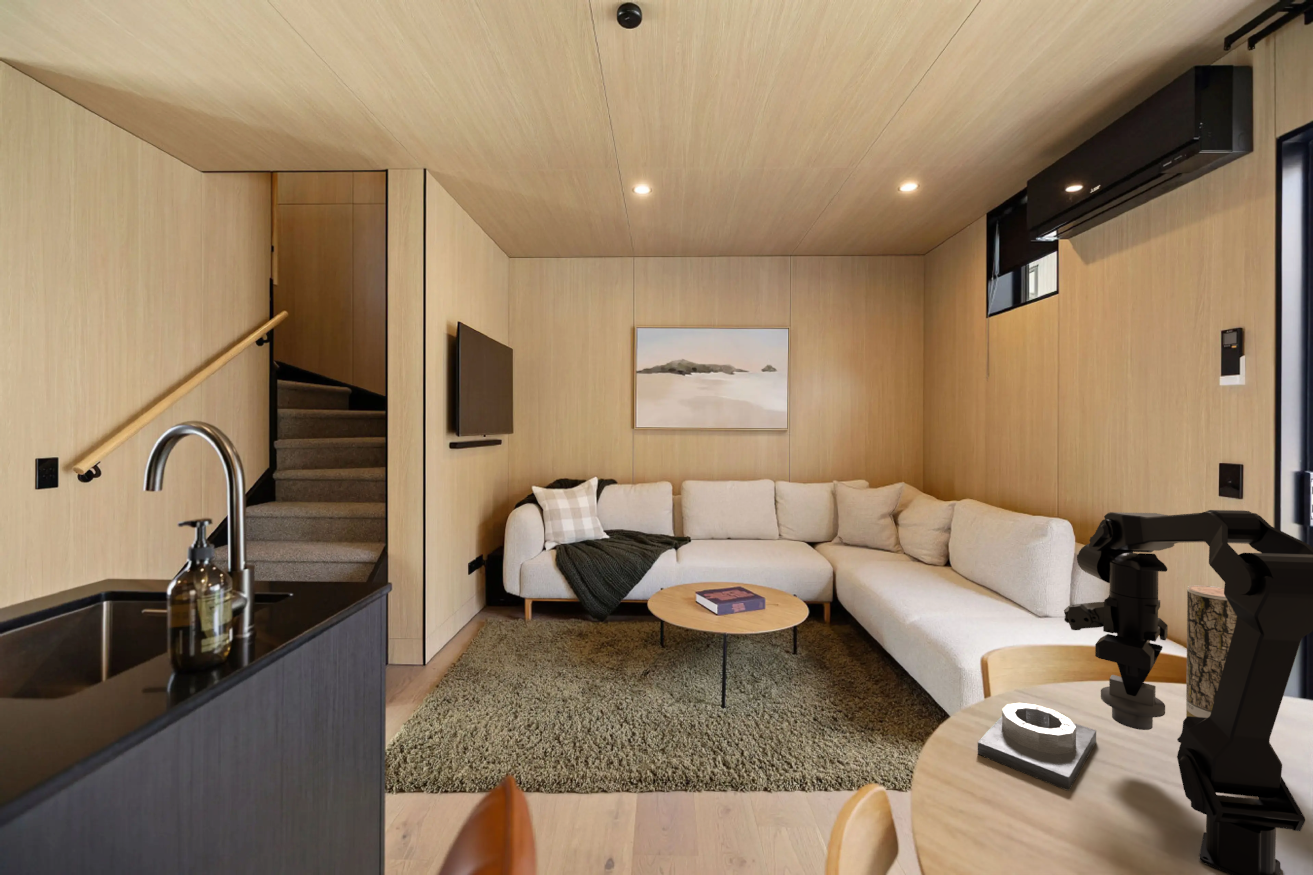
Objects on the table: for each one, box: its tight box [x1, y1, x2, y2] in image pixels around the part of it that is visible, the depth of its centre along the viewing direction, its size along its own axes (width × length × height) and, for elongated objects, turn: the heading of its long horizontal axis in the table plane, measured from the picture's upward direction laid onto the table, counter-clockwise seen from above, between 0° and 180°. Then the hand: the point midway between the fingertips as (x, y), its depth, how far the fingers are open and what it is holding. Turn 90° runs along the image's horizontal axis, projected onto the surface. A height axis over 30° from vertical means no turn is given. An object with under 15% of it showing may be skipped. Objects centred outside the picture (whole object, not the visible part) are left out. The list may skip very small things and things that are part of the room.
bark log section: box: [1185, 584, 1237, 718], centre depth 91 cm, size 7×7×25 cm
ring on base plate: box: [977, 702, 1097, 791], centre depth 90 cm, size 18×12×5 cm, turn 131°
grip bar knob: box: [1100, 674, 1166, 731], centre depth 86 cm, size 8×8×6 cm
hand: (1132, 692), depth 85 cm, fingers closed on grip bar knob
